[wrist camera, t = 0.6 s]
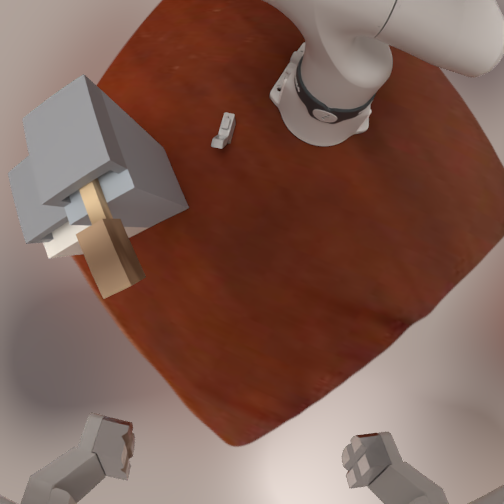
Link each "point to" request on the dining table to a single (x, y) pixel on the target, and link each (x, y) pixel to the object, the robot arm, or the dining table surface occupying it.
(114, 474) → the robot arm
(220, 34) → the dining table surface
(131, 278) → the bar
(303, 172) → the dining table surface
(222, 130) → the lighter
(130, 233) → the stand
